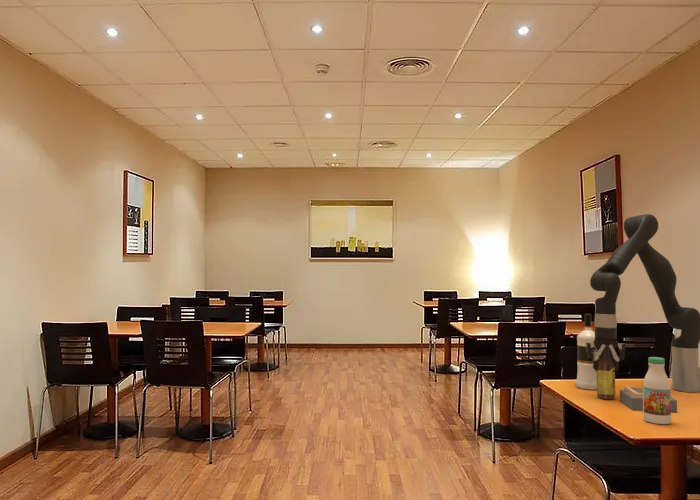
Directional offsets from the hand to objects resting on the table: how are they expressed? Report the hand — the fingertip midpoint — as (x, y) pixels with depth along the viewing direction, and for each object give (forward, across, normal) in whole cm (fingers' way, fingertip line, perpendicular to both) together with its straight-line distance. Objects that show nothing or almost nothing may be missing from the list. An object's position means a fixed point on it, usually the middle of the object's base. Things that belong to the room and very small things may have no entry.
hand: (605, 370), depth 205 cm
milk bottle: (+10, -7, +31) cm, 33 cm away
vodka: (+10, +2, -18) cm, 21 cm away
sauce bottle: (+10, 0, 0) cm, 10 cm away
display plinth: (+10, -11, +10) cm, 18 cm away
